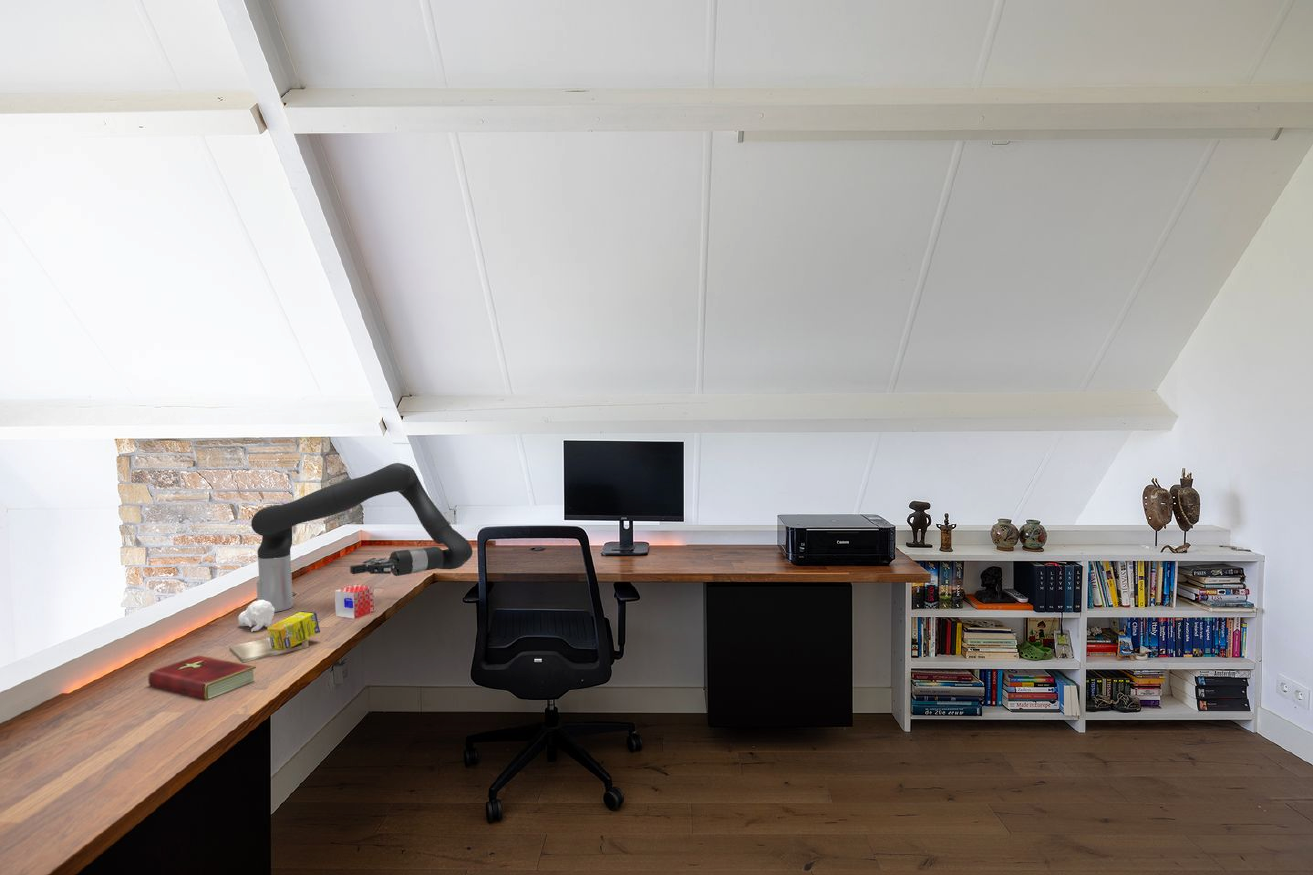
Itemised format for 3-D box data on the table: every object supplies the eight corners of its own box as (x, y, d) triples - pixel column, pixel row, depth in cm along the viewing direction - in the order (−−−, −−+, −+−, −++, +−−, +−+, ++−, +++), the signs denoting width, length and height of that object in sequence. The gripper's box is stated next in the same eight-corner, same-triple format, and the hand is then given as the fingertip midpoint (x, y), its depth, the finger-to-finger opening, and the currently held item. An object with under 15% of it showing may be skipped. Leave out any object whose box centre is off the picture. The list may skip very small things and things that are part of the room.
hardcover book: (206, 702, 157) (205, 683, 157) (148, 688, 166) (147, 670, 166) (256, 682, 168) (255, 665, 168) (199, 670, 177) (199, 653, 177)
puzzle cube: (374, 611, 224) (373, 586, 223) (354, 618, 217) (353, 593, 216) (356, 608, 227) (355, 584, 227) (335, 615, 220) (334, 590, 220)
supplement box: (321, 631, 195) (286, 650, 186) (306, 630, 198) (271, 648, 188) (316, 611, 194) (281, 629, 185) (301, 610, 197) (266, 627, 187)
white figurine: (255, 603, 203) (229, 602, 209) (258, 632, 203) (232, 631, 209) (275, 597, 209) (249, 597, 214) (278, 626, 209) (252, 625, 215)
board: (243, 662, 180) (243, 655, 180) (229, 649, 191) (229, 642, 190) (308, 647, 191) (308, 640, 191) (292, 635, 201) (292, 629, 201)
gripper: (399, 546, 222) (342, 553, 210) (418, 553, 212) (359, 561, 200) (399, 569, 222) (342, 578, 210) (418, 577, 213) (359, 587, 201)
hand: (351, 570), depth 205 cm, fingers closed
